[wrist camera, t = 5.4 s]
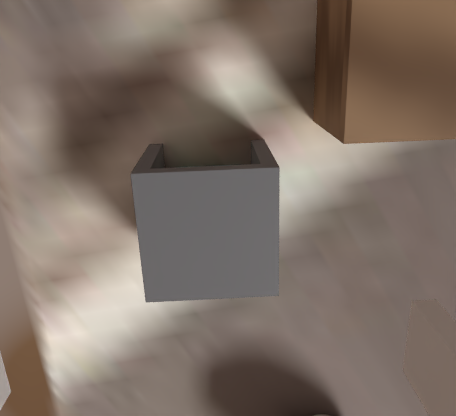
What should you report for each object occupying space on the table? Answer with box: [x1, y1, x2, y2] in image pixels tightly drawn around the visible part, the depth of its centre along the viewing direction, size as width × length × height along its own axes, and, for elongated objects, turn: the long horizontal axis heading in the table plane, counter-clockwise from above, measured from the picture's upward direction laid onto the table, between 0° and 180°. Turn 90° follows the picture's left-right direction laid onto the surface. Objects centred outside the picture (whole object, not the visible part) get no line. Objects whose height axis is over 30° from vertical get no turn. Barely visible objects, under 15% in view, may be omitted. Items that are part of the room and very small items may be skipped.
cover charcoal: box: [131, 140, 279, 302], centre depth 25 cm, size 7×7×6 cm
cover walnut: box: [313, 0, 456, 144], centre depth 22 cm, size 7×7×6 cm
